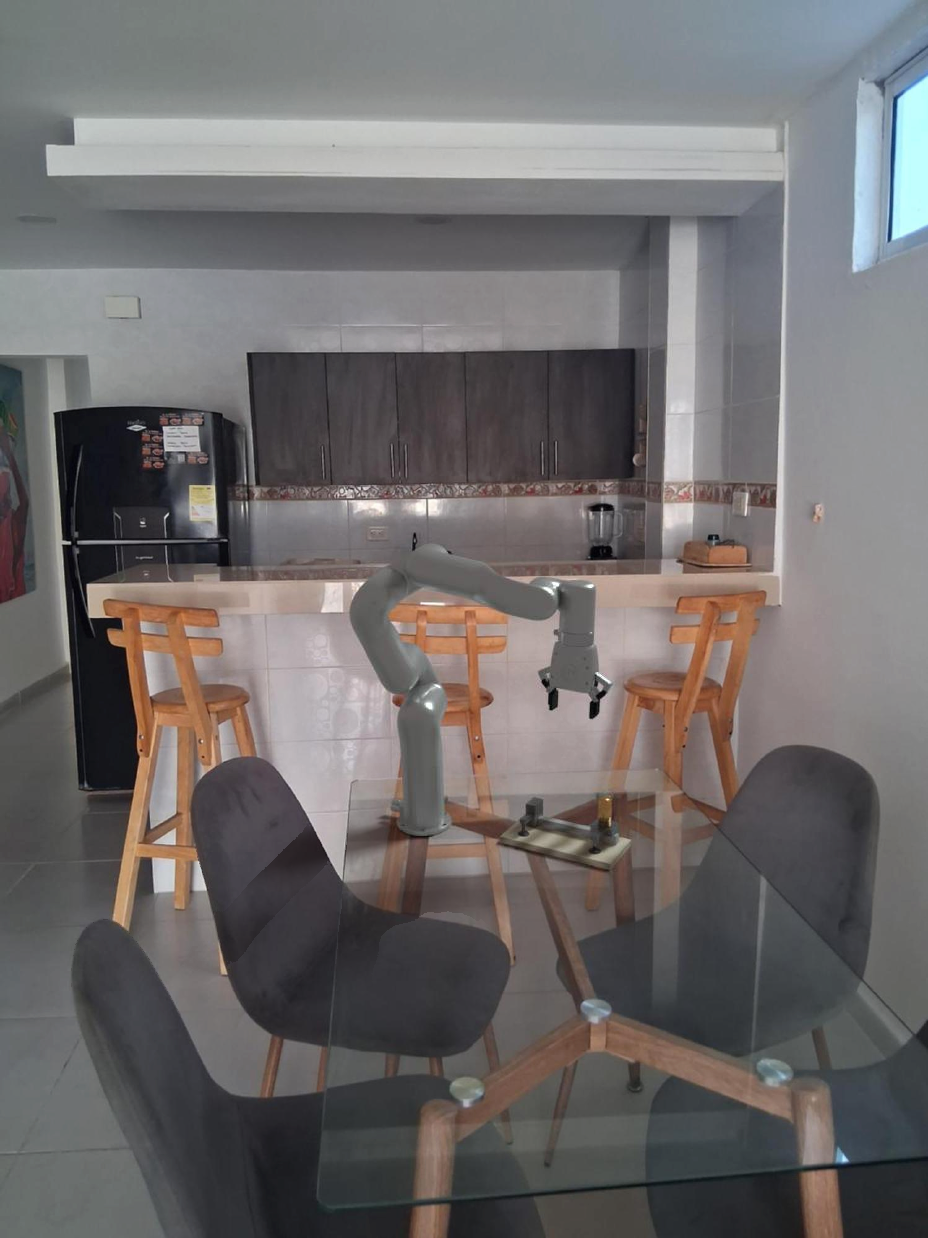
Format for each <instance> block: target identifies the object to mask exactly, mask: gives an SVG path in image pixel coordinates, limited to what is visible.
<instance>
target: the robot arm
mask: <svg viewBox="0 0 928 1238" xmlns="http://www.w3.org/2000/svg"><path fill="white" fill-rule="evenodd" d="M422 589H426V590H430V591H434V592H438V593H442V594H446V595H451V596H455V597H459V598H461V599H462V598H463V599H467V600H469V601H470V600H471V601H474V602H476V603H477V604H480V605H482V606H484V607H487V608H489V609H491V610H494V611H496V612H499V613H502V614H504V615H508V616H512V617H517V618H521V619H526V620H530V621H536V622H537V621H539V622H540V621H541V622H542V621H546V620H549V619H550V618H551V617H552V616H553V615H555V613H556V612H557V611H558V612H559V616H558V617H559V621H558V629H554V630H553V635H554V636H556V637H557V641H556V642H554V645H553V649H552V654H551V658H550V665H549V666H546V667H544V668H542V669H539V670H538V671H537V674H538V676H539V678H540V680H541V684H542V685H543V687H544V688H545V692H546V693H547V705H548V711H550V712H551V711H554V710H556V709H557V708H558V706H559V694H560V693H559V690H558V689H560V690H564V691H569V692H575V693H580V694H587V695H588V696H589V697H590V699H591V700H590V702H589V712H588V718H589V720H594V719H595V718H596V717H598V715H599V714H600V709H601V700H602V699H603V698H604V697H605V696H606V695H608V694H609V692H610V690H611V689H612V687H613V684H614V683H613V682H611V680H610V679H608V678H606V677H605V676H604V675H602V674H601V673H600V664H599V654H598V647H597V645H596V644H595V643H594V642H595V625H596V624H595V621H596V620H595V619H596V599H597V588H596V585H595V583H593V582H591V581H589V580H586V579H570V580H566V579H559V578H557V577H556V578H555V577H551V576H538V577H536V578H533V579H532V580H531V581H529V583H526V582H522V581H518V580H516V579H511V578H509V577H506V576H503V575H502V574H499V573H498V572H497V571H495V570H494V569H493V568H492V567H491V566H489V564H487V563H485V562H483V561H480V560H477V559H472V558H468V557H464V556H463V557H462V556H459V555H455V554H450V553H449V552H448V551H447V550H446V548H444V547H443V546H442V545H440V544H438V543H433V542H432V543H431V542H430V543H425V544H422V545H420V546H418V547H417V548H415V549H413V550H412V551H411V552H409V553H407V554H405V555H403V556H402V557H400V558H399V559H396V560H395V561H393V562H391V563H389V564H387V565H386V566H385V567H382V568H381V569H379V570H378V571H376V572H375V573H374V574H373V575H371V576H370V577H369V578H367V579H366V581H364V582H363V584H361V585H360V587H359V588H358V590H357V591H356V592H355V594H354V595H353V597H352V599H351V602H350V604H349V606H350V607H349V611H348V612H349V620H350V624H351V627H352V630H353V632H354V634H355V635H356V637H357V639H358V642H360V644H361V647H362V648H363V650H364V652H365V654H366V656H367V658H368V660H369V662H370V664H371V666H372V668H373V670H374V672H375V673H376V676H377V678H378V679H379V682H380V683H381V685H382V687H383V688H384V689H385V690H386V691H388V692H389V694H390V693H391V694H393V695H396V696H397V695H398V696H399V695H403V697H404V700H403V702H402V704H401V705H400V707H399V708H398V709H399V710H398V711H397V719H396V723H397V724H396V727H397V733H398V739H399V748H400V765H401V787H402V789H401V791H402V799H397V798H393V799H392V802H391V806H390V811H392V812H395V813H396V812H397V813H398V814H399V816H398V817H397V821H396V823H397V824H396V825H397V827H398V830H399V831H401V830H402V831H403V832H402V831H401V832H402V833H404V832H405V833H404V834H408V835H410V836H416V837H417V836H418V837H428V836H434V835H438V834H441V833H443V832H445V831H446V830H448V829H449V828H450V827H451V826H452V815H450V814H449V813H448V812H447V811H446V810H445V790H444V789H445V787H444V786H445V785H444V763H443V762H444V761H443V760H444V759H443V755H444V754H443V742H442V736H441V735H442V733H441V726H442V723H441V722H442V720H443V717H444V716H445V714H446V710H447V708H448V696H447V694H446V691H445V688H444V686H443V685H442V682H441V680H440V679H439V676H438V675H437V672H436V671H435V669H434V667H433V665H432V664H431V661H430V660H429V658H428V656H427V654H426V653H425V652H424V650H423V649H422V648H421V647H420V646H418V645H417V644H415V643H413V642H410V641H403V640H402V638H401V636H400V633H399V631H398V629H397V628H396V626H395V625H394V624H393V622H391V619H390V618H389V617H390V616H389V614H390V613H391V611H392V610H393V609H394V608H395V607H397V606H398V605H399V604H400V602H402V600H404V599H406V598H408V597H409V596H411V595H412V594H415V593H416V592H418V591H420V590H422ZM548 674H549V676H548ZM599 684H601V686H602V690H601V691H600V690H599V687H598V686H599Z"/></svg>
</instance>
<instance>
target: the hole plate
mask: <svg viewBox="0 0 928 1238" xmlns="http://www.w3.org/2000/svg"><path fill="white" fill-rule="evenodd" d="M592 834H593V833H592V832H590V825H589V826H588V825H584V824H579V823H576V822H575V823H574V822H571V821H566V820H563V819H557V818H555V817H554V818H553V817H550V816H549V817H548V816H544V799H543V798H540V797H534V796H533V797H532V798H530V799H529V800H528V801H527V802H526V803H525V814H524V815H523V816H521V817H520V818H519V819H518V820H517V821H516V822H515V823H513V825H512V826H510V827H509V828H508V829H507V830H506V831H504V832H503V833H502V834H501V835H500V837H499V839H500V840H499V843H500V844H505V845H508V846H512V847H516V848H519V849H525V850H528V851H532V852H536V853H540V854H544V855H548V856H551V857H556V858H559V859H563V860H568V861H571V862H575V863H579V864H582V865H587V864H588V866H591V865H593V866H592V867H594V868H599V869H603V870H606V871H607V870H608V871H611V870H612V869H613V868H614V867H615V866H616V864H618V862H619V861H620V860H621V858H622V857H623V856H624V855H625V854H626V853H627V852H628V850H629V849H630V848H631V847H632V839H629V838H626V837H625V838H624V837H620V833H618V832H616V833H615V834H614V835H613V836H612V837H609V836H605V835H603V836H602V837H601V838H600V839H599V840H598V841H597V847H596V849H595V850H594V849H593V841H592V840H591V835H592Z"/></svg>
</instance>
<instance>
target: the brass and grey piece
mask: <svg viewBox="0 0 928 1238" xmlns="http://www.w3.org/2000/svg"><path fill="white" fill-rule="evenodd" d="M612 800H613V799H612V797H611V796H609V795H601V796H599V797H598V801H597V802H598V805H597V807H598V808H597V811H598V813H597V818H596V819H595V820H594V821H593V822H592V823H591V824H590V825H589V827H590V832H592V833H593V834H592V835H591V840H592V841H593V849H594V850H595V849H596V847H597V841H598V840H599V839H600V838H601V837H602V836H603V835H605V836H609V837H612V836H613V835H614V834H615V833H618V831H619V829H620V822H617V821H614V820H612V804H613V803H612Z"/></svg>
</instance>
